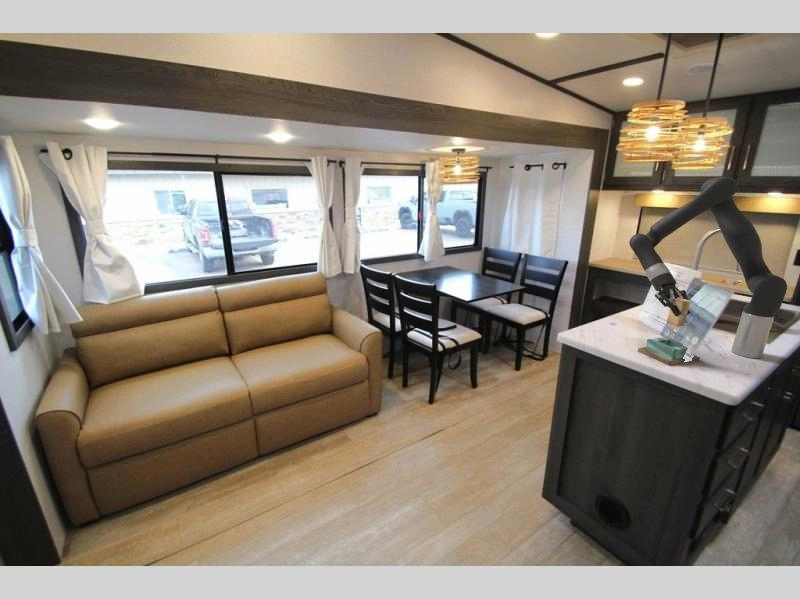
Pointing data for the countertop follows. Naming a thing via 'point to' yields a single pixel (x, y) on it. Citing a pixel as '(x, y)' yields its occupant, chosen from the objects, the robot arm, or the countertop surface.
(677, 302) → the peg
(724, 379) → the countertop surface
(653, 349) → the socket block
